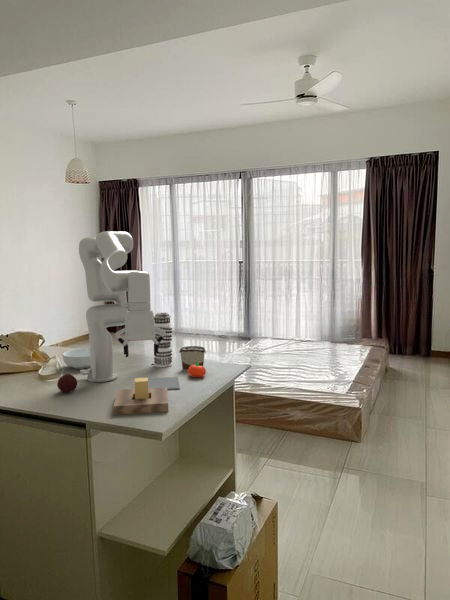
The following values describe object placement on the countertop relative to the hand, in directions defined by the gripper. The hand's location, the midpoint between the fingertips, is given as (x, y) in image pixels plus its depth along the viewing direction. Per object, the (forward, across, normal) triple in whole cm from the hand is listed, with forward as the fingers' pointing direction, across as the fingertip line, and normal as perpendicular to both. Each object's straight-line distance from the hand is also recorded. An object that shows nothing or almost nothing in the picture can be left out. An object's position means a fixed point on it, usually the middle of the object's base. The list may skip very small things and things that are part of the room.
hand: (141, 355), depth 153 cm
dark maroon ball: (+17, -29, +20) cm, 39 cm away
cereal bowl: (+17, -30, +59) cm, 68 cm away
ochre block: (+18, 0, +1) cm, 18 cm away
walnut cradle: (+18, 0, +1) cm, 18 cm away
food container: (+17, +22, +47) cm, 54 cm away
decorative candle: (+17, +8, +56) cm, 59 cm away
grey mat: (+17, +6, +24) cm, 30 cm away
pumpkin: (+18, +22, +33) cm, 43 cm away
